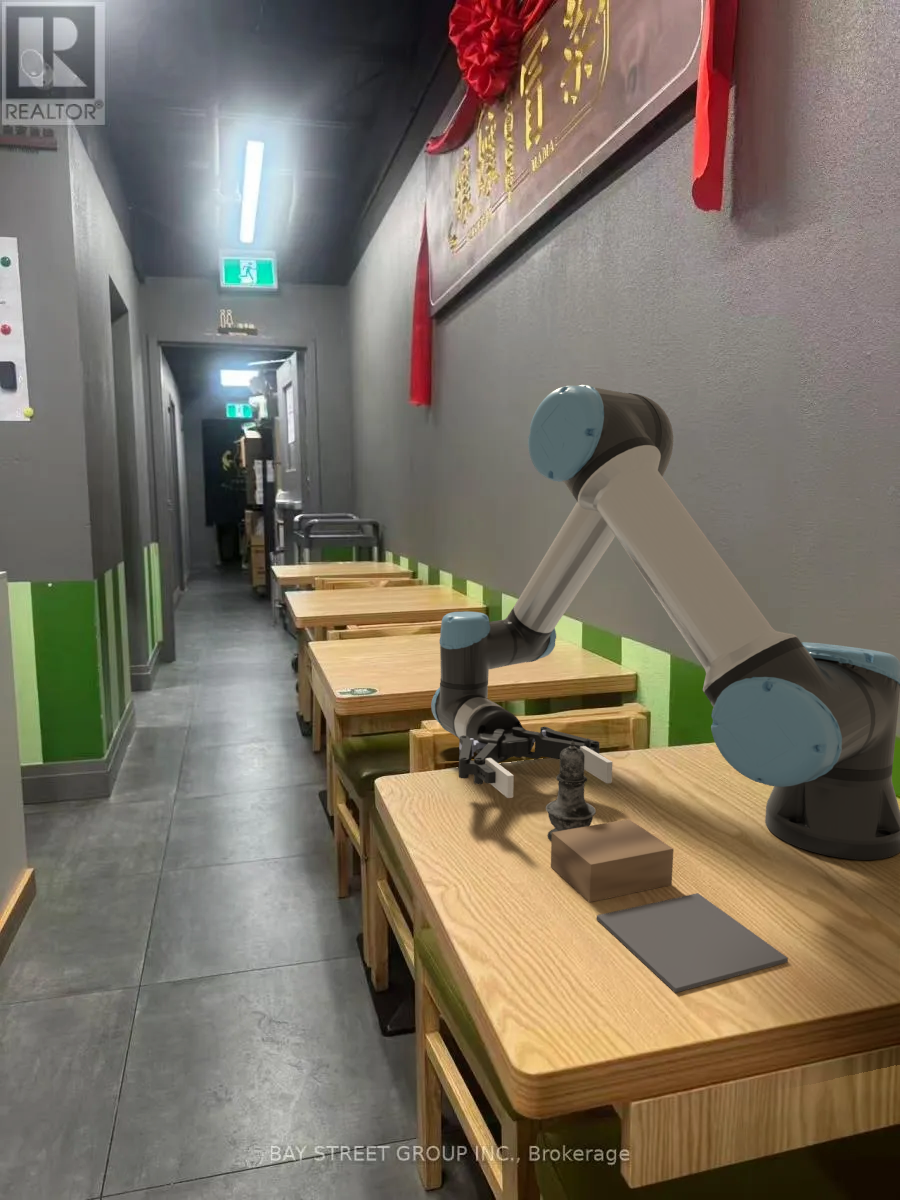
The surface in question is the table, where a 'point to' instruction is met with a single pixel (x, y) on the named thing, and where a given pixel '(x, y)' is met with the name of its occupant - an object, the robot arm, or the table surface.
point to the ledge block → (611, 859)
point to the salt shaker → (570, 794)
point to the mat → (690, 941)
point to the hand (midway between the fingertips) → (561, 779)
